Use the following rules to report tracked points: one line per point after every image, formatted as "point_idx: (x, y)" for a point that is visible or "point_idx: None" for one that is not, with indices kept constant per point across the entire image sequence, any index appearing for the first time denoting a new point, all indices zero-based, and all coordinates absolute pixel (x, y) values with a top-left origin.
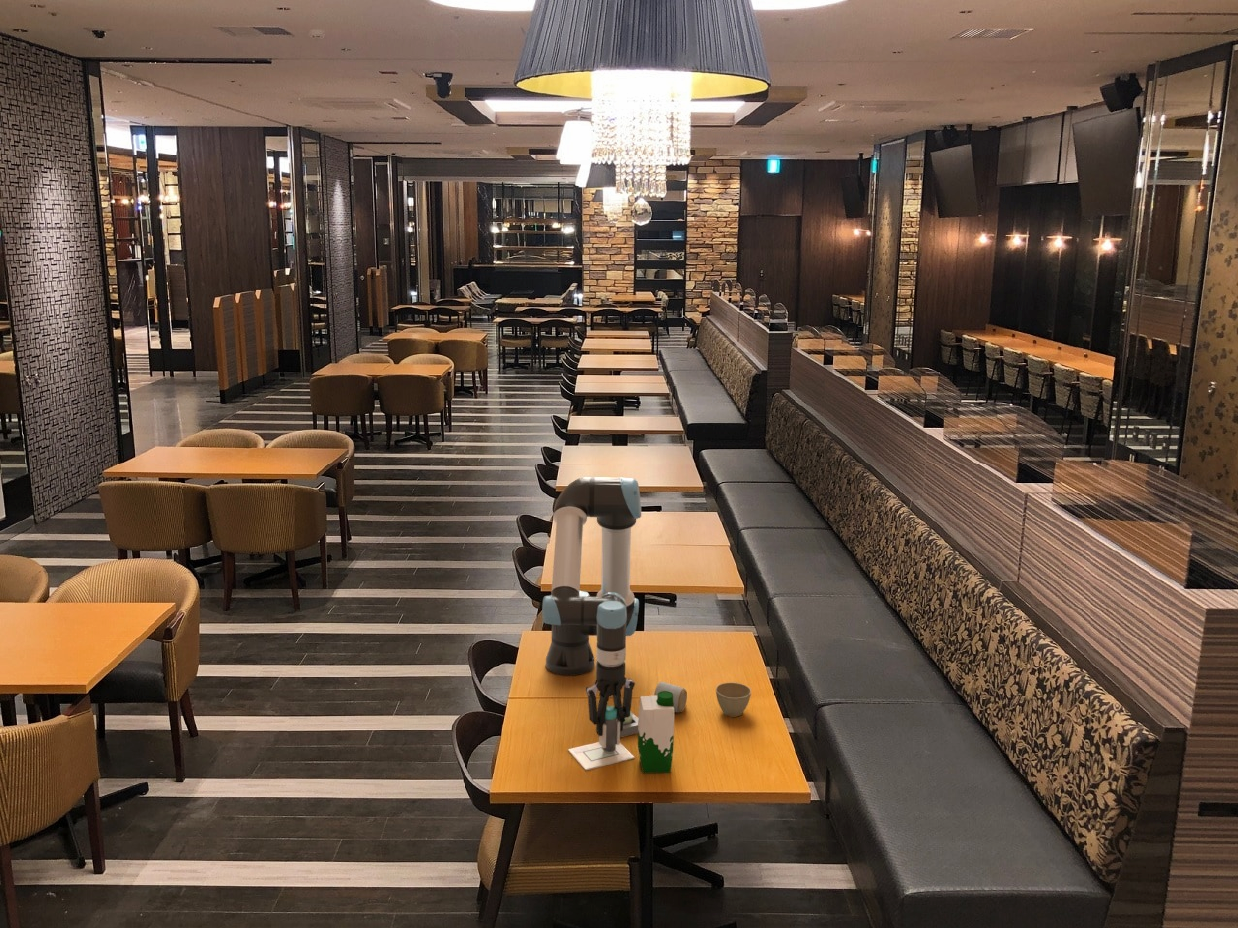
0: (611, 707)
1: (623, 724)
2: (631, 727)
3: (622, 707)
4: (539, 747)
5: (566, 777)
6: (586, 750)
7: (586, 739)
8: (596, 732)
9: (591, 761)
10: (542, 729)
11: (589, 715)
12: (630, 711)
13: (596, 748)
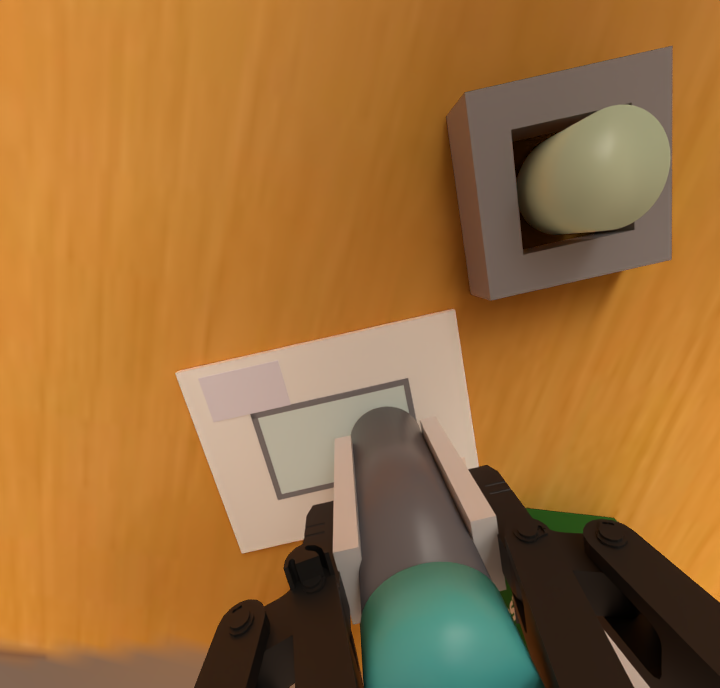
0: (497, 682)
1: (547, 231)
2: (578, 280)
3: (630, 589)
4: (15, 305)
5: (152, 581)
6: (272, 404)
7: (297, 274)
8: (307, 516)
9: (279, 500)
10: (27, 73)
11: (200, 683)
12: (668, 149)
13: (327, 397)
